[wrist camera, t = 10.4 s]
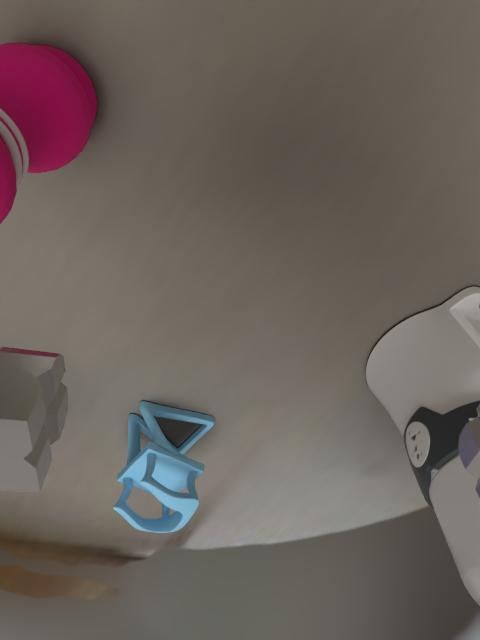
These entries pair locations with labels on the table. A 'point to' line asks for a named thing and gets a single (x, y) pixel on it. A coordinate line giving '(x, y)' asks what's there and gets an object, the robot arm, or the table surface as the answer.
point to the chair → (161, 468)
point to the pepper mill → (40, 113)
